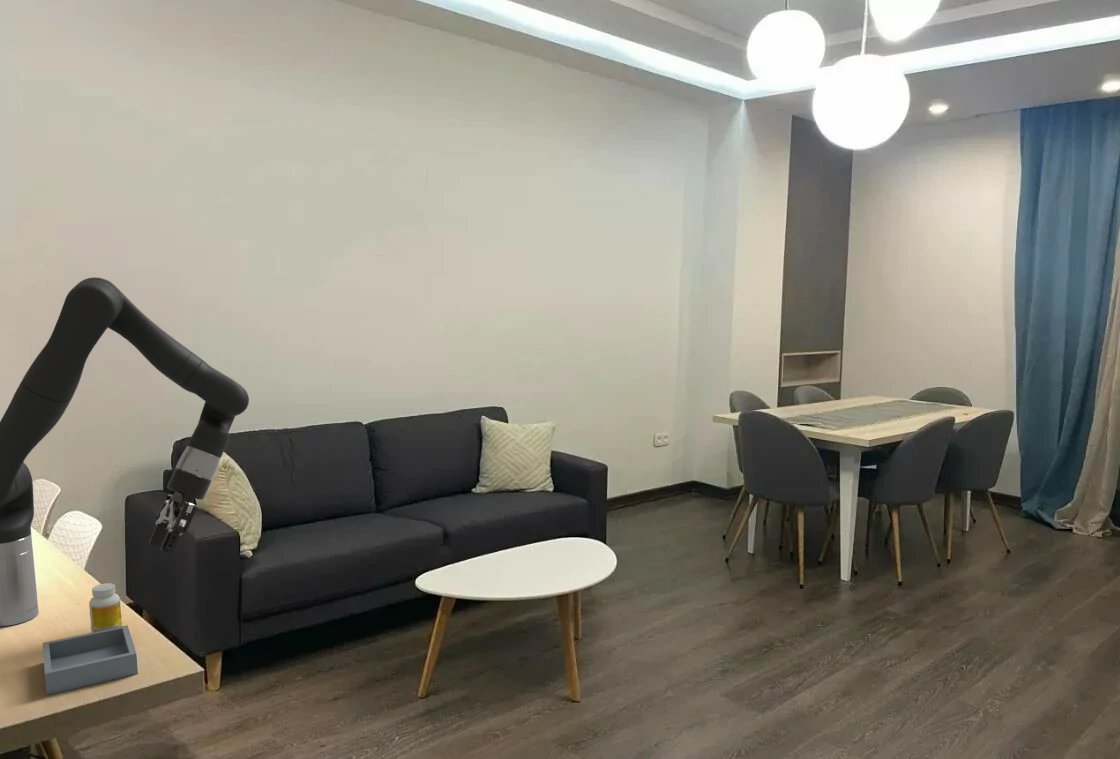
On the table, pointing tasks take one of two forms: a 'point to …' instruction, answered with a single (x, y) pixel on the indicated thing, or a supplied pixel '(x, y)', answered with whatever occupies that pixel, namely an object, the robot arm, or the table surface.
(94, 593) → the supplement bottle
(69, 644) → the tray
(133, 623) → the table surface
